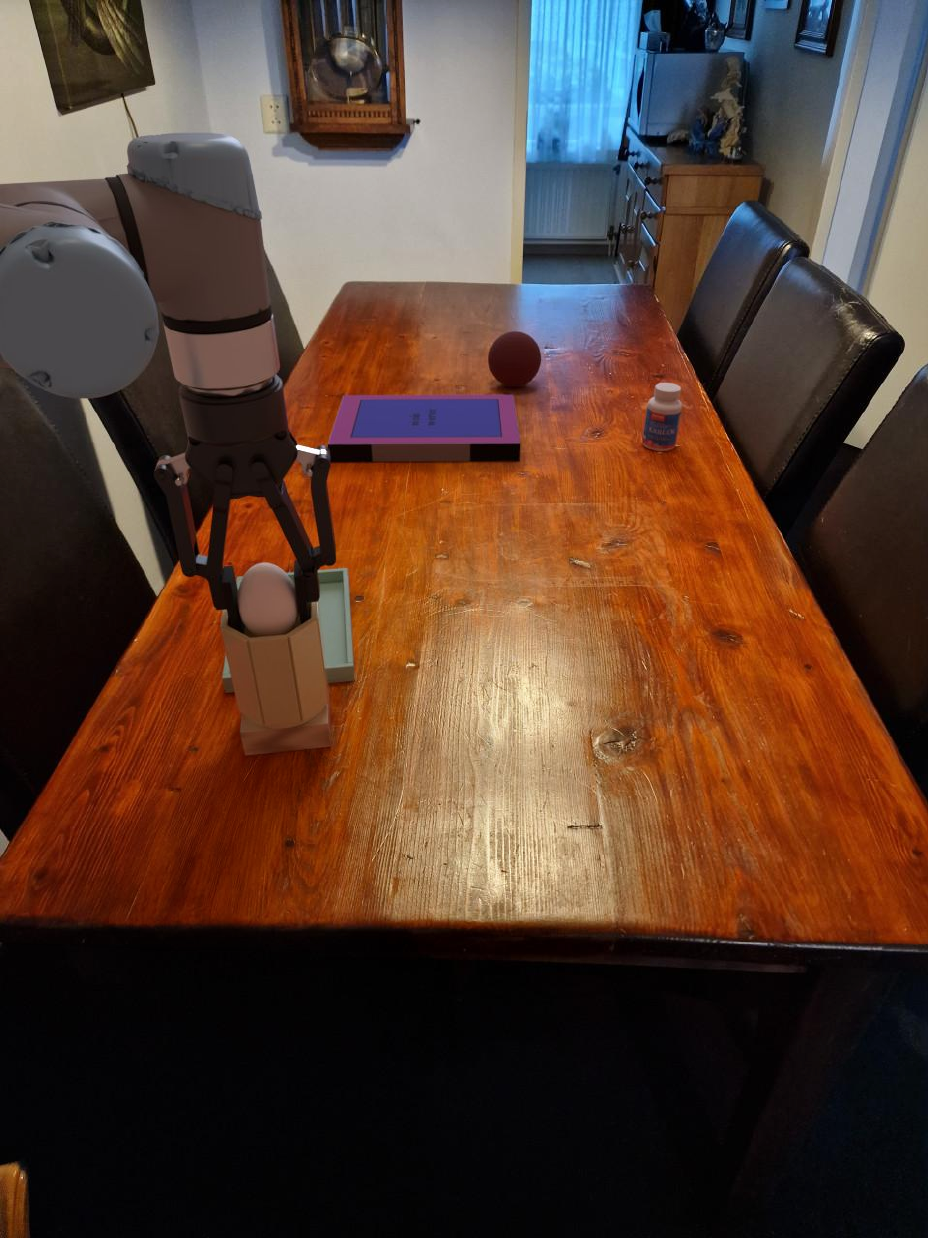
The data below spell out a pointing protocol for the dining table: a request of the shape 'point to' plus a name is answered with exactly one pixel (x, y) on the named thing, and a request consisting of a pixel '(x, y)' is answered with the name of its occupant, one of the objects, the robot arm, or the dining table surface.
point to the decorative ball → (514, 359)
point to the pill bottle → (662, 418)
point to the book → (425, 428)
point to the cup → (278, 672)
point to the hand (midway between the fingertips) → (273, 631)
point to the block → (287, 735)
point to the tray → (327, 626)
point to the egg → (267, 600)
